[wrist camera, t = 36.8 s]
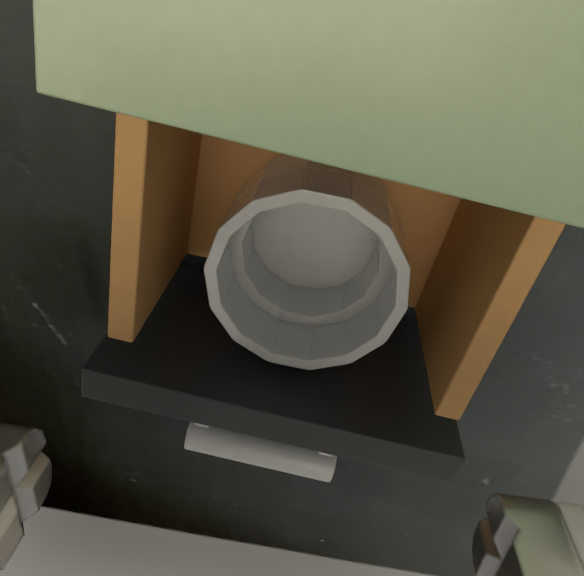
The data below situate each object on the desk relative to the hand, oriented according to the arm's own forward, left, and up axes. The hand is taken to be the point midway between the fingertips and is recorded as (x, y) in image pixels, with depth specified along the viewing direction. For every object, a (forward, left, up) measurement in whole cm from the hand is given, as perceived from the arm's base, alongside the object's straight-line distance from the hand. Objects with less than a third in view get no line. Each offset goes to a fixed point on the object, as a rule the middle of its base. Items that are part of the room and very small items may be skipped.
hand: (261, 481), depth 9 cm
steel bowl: (0, 0, -12) cm, 12 cm away
